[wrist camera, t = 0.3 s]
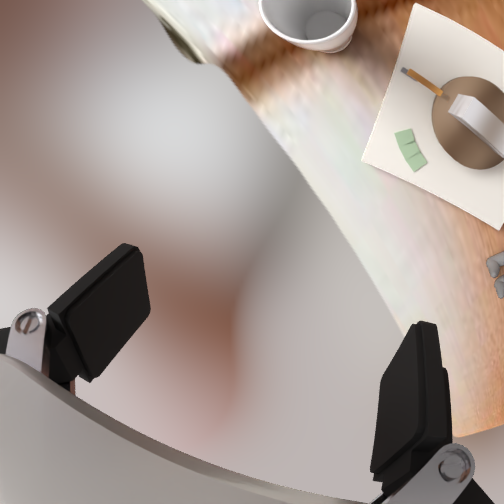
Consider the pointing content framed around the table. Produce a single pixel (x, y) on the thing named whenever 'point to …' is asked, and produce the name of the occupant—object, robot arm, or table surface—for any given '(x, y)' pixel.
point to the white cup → (312, 22)
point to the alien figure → (497, 272)
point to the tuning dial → (468, 120)
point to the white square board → (420, 120)
